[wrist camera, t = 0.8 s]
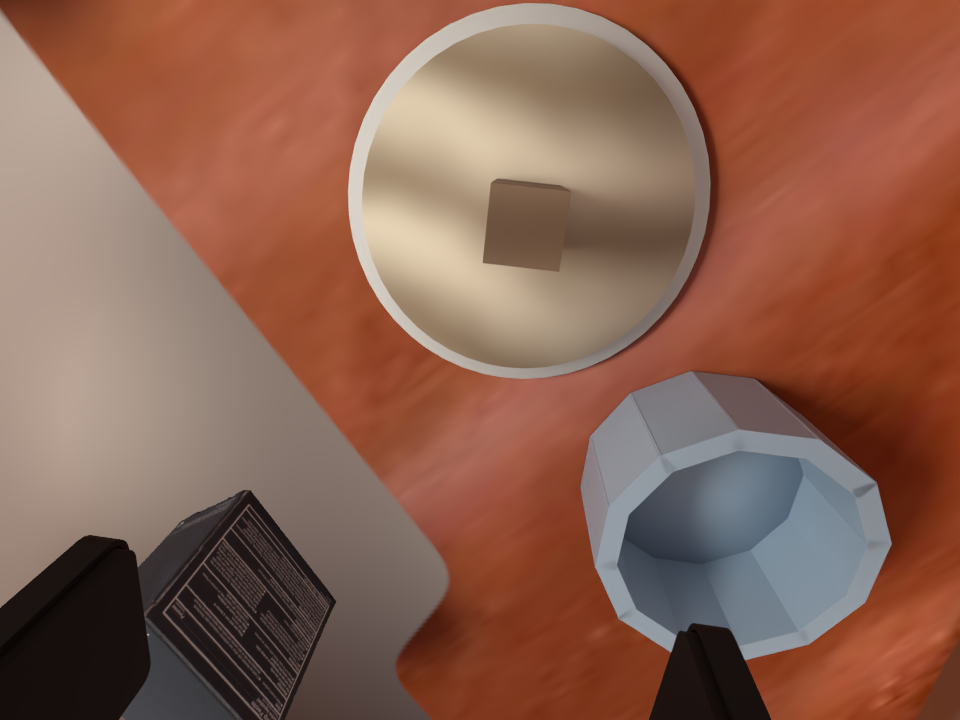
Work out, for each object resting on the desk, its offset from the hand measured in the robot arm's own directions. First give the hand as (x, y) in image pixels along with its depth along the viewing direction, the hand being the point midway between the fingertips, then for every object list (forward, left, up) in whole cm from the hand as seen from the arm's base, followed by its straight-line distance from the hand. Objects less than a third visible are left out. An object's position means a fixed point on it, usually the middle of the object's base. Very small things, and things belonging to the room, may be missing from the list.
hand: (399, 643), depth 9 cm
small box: (+19, -13, -22) cm, 32 cm away
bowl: (+8, +14, -22) cm, 27 cm away
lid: (-6, +2, -21) cm, 22 cm away
